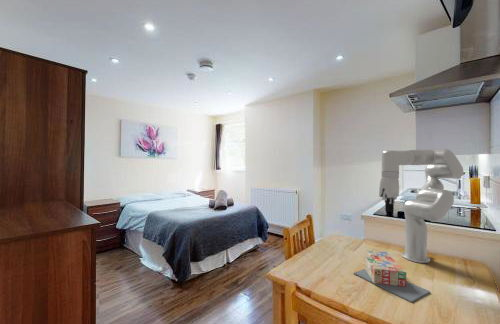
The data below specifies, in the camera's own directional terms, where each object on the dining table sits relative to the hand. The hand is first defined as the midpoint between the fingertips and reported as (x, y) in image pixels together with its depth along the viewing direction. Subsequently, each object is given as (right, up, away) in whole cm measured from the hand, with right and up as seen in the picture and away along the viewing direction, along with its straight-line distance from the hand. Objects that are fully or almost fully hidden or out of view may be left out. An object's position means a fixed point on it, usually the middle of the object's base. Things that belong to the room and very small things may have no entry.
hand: (389, 211), depth 115 cm
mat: (-11, -27, -17) cm, 34 cm away
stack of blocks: (-4, -23, -11) cm, 26 cm away
